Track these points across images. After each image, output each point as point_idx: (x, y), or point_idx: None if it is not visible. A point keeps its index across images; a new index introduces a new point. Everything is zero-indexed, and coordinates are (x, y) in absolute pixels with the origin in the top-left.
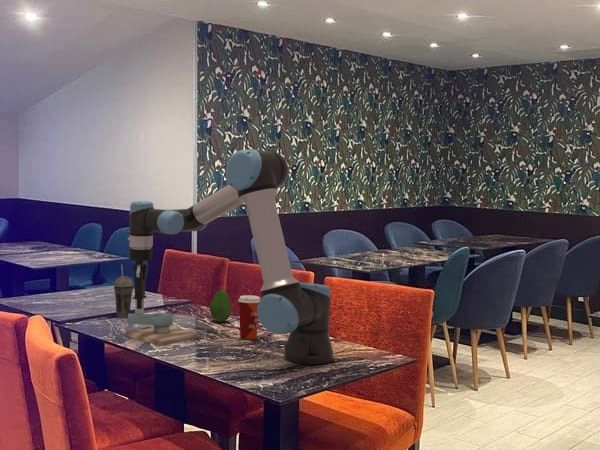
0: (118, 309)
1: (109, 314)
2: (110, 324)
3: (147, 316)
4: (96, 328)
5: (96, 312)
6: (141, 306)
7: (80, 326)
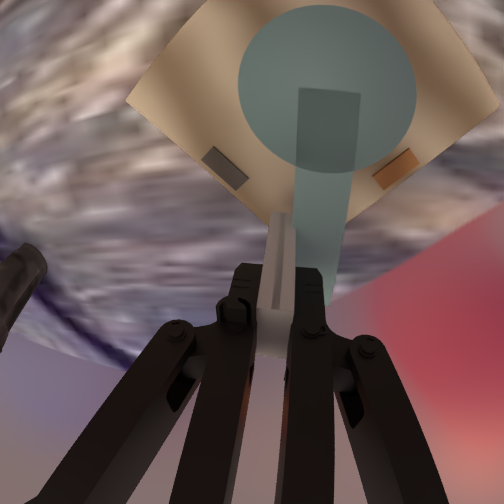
0: (34, 288)
1: None
2: (125, 290)
3: (349, 197)
4: None
5: (33, 312)
6: (301, 277)
7: None
